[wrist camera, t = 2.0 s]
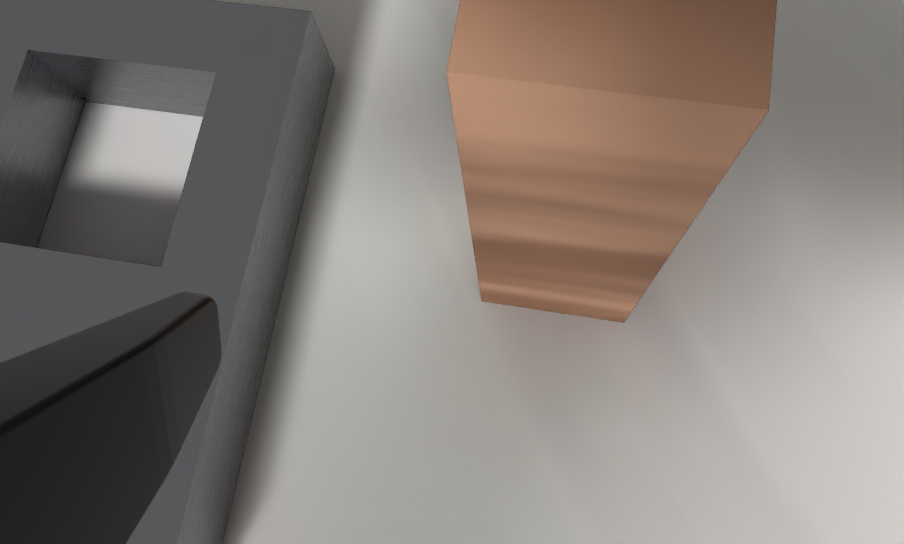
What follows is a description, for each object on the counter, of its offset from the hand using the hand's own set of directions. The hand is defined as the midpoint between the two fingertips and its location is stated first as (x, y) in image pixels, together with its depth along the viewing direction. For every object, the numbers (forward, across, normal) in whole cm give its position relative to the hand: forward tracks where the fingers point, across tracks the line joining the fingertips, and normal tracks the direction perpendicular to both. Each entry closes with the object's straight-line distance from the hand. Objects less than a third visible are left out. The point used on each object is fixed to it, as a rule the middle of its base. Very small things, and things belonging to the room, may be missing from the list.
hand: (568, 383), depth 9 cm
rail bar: (+10, +13, +7) cm, 18 cm away
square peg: (+12, 0, +4) cm, 13 cm away
